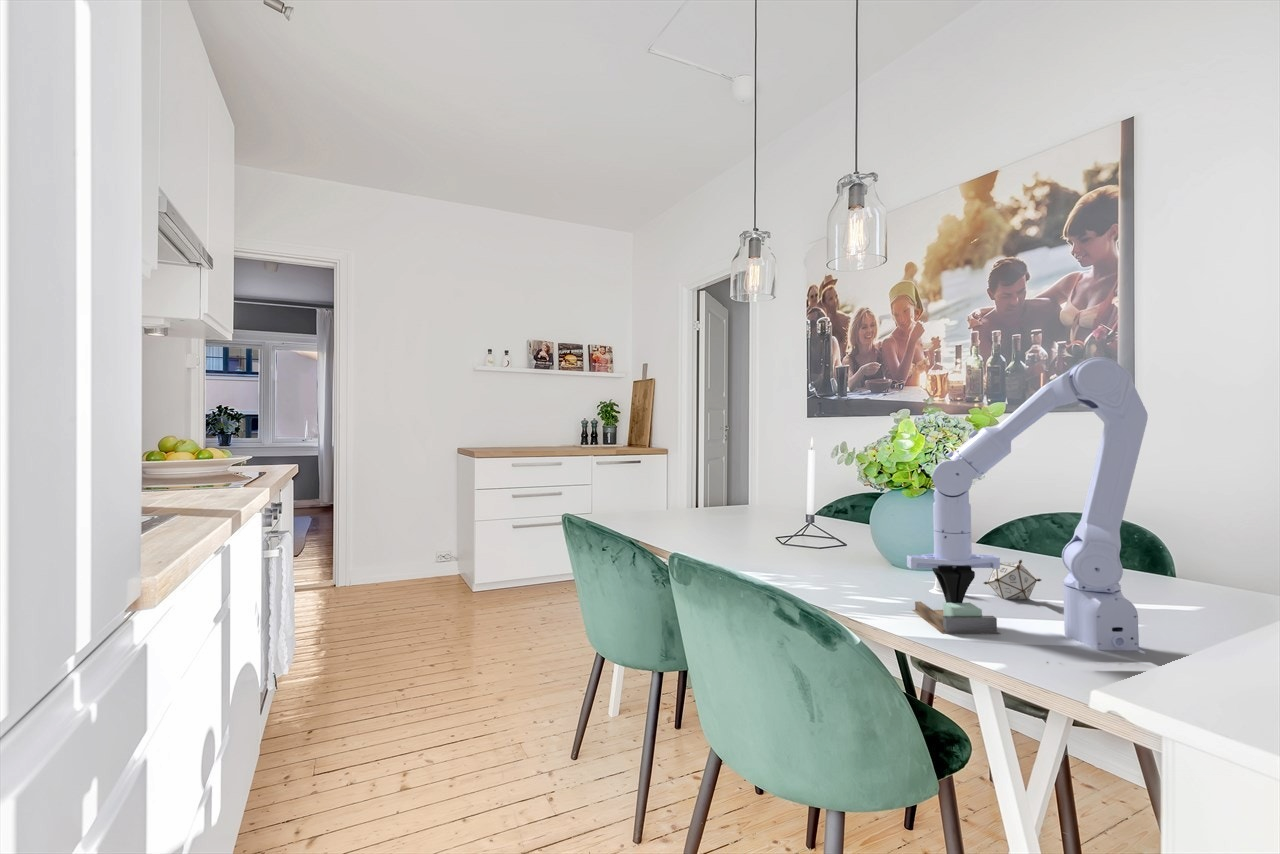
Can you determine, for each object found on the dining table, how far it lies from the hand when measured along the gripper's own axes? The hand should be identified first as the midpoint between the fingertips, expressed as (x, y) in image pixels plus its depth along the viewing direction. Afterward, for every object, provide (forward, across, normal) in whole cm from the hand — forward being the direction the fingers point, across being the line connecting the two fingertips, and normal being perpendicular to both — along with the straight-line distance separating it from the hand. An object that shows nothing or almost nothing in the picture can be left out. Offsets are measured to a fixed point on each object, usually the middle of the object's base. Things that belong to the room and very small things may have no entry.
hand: (953, 610), depth 103 cm
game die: (+3, -17, -15) cm, 23 cm away
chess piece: (+3, -5, -19) cm, 20 cm away
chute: (+3, 0, 0) cm, 3 cm away
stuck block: (+2, 0, +3) cm, 4 cm away
